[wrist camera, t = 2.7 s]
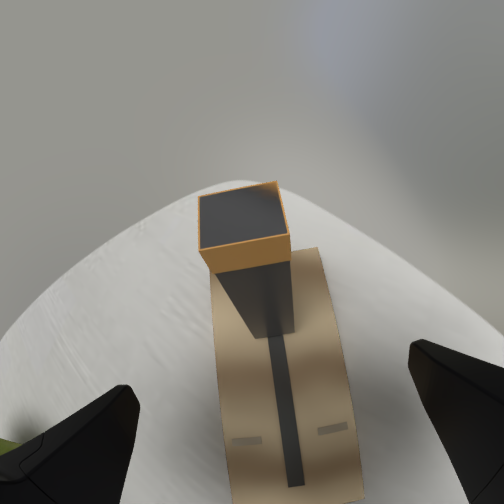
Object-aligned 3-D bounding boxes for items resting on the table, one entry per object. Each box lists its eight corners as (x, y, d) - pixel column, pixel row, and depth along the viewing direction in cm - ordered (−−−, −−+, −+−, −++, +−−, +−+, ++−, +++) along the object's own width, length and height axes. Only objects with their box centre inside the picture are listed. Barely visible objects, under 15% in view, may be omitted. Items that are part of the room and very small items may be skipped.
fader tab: (295, 333, 17) (289, 234, 8) (254, 339, 18) (198, 251, 8) (290, 302, 18) (276, 181, 9) (250, 308, 19) (197, 196, 9)
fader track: (358, 490, 13) (364, 498, 11) (241, 507, 14) (234, 516, 12) (316, 260, 22) (317, 246, 21) (216, 277, 23) (209, 265, 21)
